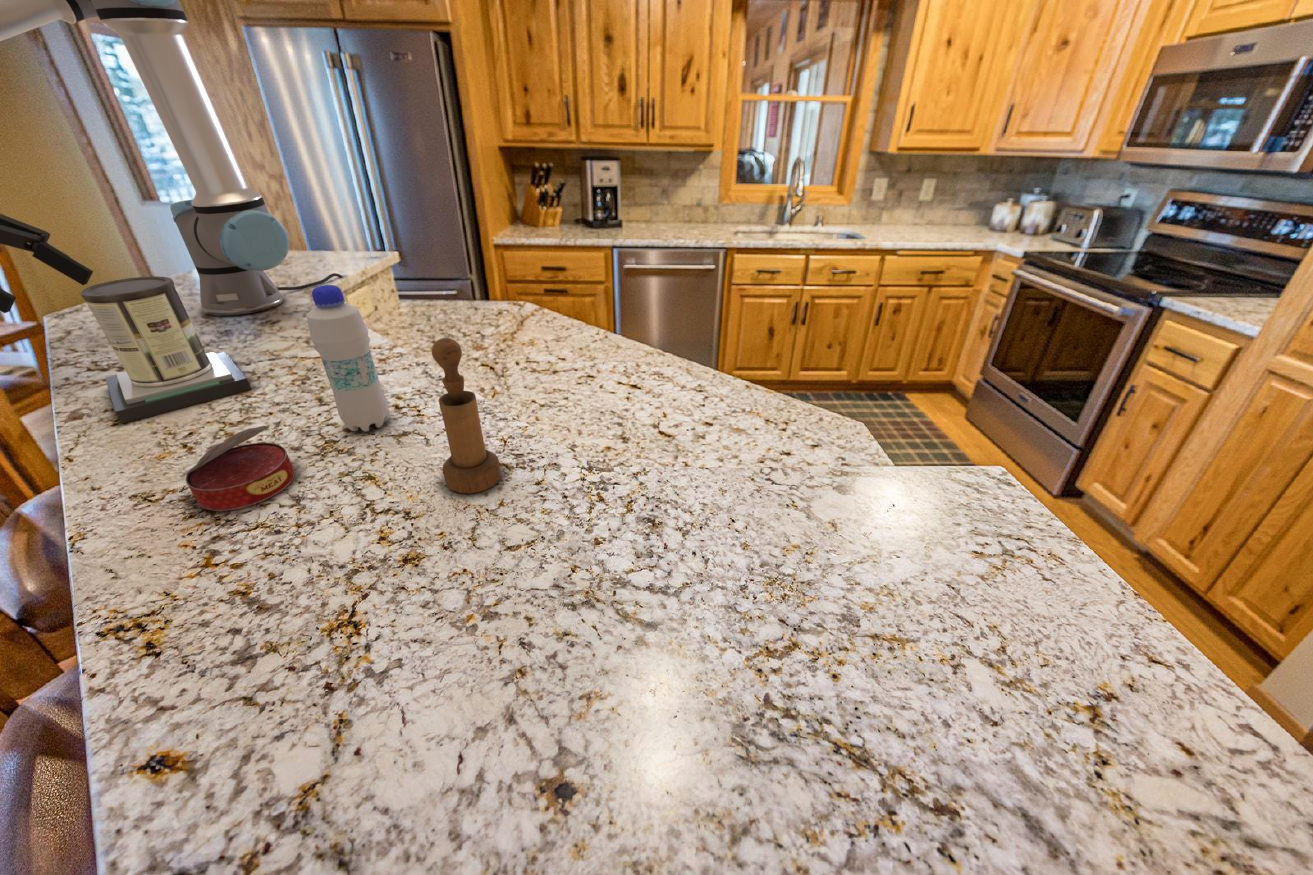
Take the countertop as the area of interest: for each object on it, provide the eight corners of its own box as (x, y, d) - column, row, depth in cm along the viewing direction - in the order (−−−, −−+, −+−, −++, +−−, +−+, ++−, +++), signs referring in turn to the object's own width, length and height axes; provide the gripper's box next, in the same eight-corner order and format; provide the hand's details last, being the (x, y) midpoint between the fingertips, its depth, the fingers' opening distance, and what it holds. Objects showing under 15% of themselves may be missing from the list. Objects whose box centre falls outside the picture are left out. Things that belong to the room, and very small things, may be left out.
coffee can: (171, 359, 89) (128, 274, 82) (228, 362, 88) (190, 277, 81) (111, 386, 80) (57, 293, 73) (174, 389, 80) (126, 296, 72)
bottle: (403, 418, 78) (366, 282, 68) (365, 440, 73) (317, 295, 62) (371, 409, 80) (330, 276, 70) (331, 429, 75) (280, 288, 65)
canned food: (234, 543, 62) (144, 501, 54) (234, 491, 68) (154, 447, 61) (317, 482, 63) (240, 433, 56) (309, 437, 70) (240, 388, 63)
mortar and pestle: (511, 469, 67) (489, 333, 58) (481, 499, 62) (450, 355, 52) (467, 459, 69) (438, 326, 59) (434, 487, 64) (396, 346, 54)
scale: (229, 361, 96) (222, 347, 94) (251, 389, 86) (245, 373, 85) (111, 389, 86) (102, 373, 84) (122, 424, 76) (111, 406, 75)
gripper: (-60, 189, 79) (105, 285, 89) (-289, 217, 58) (-40, 340, 68) (-45, 148, 77) (123, 252, 87) (-276, 163, 56) (-21, 297, 66)
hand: (52, 291), depth 77 cm, fingers open, 13 cm apart
